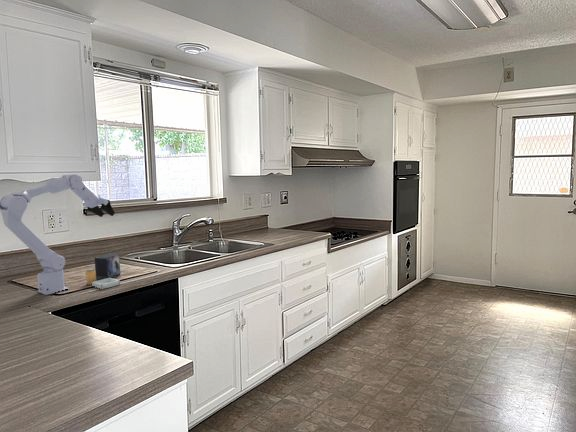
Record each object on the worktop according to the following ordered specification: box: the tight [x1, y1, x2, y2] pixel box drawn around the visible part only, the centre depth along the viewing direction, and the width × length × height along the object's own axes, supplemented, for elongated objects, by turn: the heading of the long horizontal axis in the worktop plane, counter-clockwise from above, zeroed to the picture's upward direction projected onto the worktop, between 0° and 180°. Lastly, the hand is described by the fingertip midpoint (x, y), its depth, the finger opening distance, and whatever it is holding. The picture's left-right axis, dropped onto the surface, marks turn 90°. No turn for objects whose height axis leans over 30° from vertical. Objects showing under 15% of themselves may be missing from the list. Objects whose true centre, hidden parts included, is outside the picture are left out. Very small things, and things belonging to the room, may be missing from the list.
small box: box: [94, 252, 121, 281], centre depth 202 cm, size 11×6×10 cm, turn 168°
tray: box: [91, 278, 121, 290], centre depth 189 cm, size 8×8×2 cm
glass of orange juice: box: [85, 268, 97, 285], centre depth 193 cm, size 4×4×6 cm
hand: (107, 214), depth 203 cm, fingers open, 7 cm apart
